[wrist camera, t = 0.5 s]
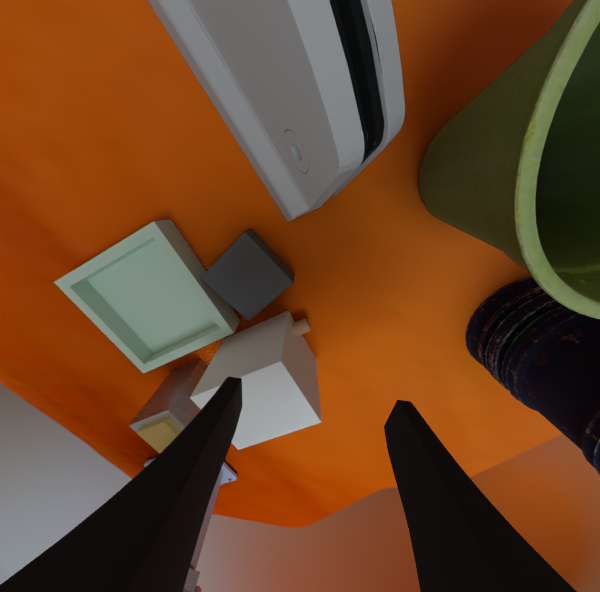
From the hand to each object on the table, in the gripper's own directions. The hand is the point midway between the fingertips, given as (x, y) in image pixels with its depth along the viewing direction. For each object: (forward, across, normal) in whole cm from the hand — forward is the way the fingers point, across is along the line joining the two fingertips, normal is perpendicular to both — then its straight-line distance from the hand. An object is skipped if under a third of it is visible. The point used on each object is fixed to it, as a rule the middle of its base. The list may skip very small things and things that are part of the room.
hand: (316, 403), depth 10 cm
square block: (+11, +6, -2) cm, 12 cm away
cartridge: (+9, +11, +11) cm, 18 cm away
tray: (+10, +14, +2) cm, 17 cm away
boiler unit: (+10, +4, +6) cm, 12 cm away
